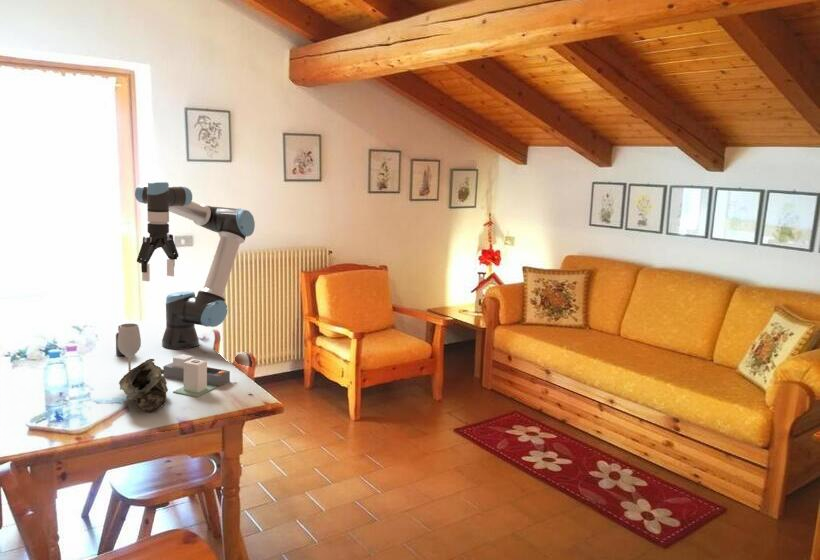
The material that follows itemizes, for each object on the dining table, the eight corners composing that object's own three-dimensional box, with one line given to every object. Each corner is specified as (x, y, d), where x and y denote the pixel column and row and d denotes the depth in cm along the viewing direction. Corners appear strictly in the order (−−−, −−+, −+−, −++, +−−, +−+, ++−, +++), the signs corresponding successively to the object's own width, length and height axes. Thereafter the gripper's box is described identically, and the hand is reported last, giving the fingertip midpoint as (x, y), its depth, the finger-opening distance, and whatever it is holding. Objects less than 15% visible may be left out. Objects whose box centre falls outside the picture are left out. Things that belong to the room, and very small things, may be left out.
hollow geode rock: (152, 432, 201) (187, 397, 203) (120, 409, 195) (156, 372, 198) (147, 399, 226) (178, 367, 228) (118, 377, 220) (150, 345, 223)
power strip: (148, 373, 241) (148, 362, 240) (160, 368, 247) (160, 357, 247) (218, 387, 231) (218, 375, 231) (229, 381, 238) (229, 369, 237)
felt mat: (193, 383, 233) (193, 382, 233) (216, 387, 230) (216, 386, 230) (173, 392, 223) (173, 391, 223) (197, 397, 220) (197, 396, 220)
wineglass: (136, 377, 236) (135, 321, 232) (144, 383, 231) (144, 326, 227) (115, 381, 231) (113, 324, 227) (123, 387, 225) (122, 329, 222)
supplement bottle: (112, 355, 259) (111, 327, 257) (122, 351, 266) (122, 323, 264) (128, 357, 258) (127, 328, 256) (137, 353, 265) (137, 324, 263)
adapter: (181, 366, 243) (181, 354, 242) (192, 368, 241) (192, 356, 240) (173, 370, 238) (173, 357, 237) (184, 372, 237) (184, 359, 236)
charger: (192, 385, 230) (192, 357, 228) (206, 388, 228) (207, 360, 226) (183, 389, 225) (183, 361, 224) (197, 392, 223) (198, 364, 222)
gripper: (172, 220, 254) (172, 272, 258) (125, 224, 231) (126, 281, 234) (188, 221, 252) (187, 275, 255) (142, 225, 228) (143, 284, 232)
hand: (158, 278), depth 245 cm, fingers open, 13 cm apart
